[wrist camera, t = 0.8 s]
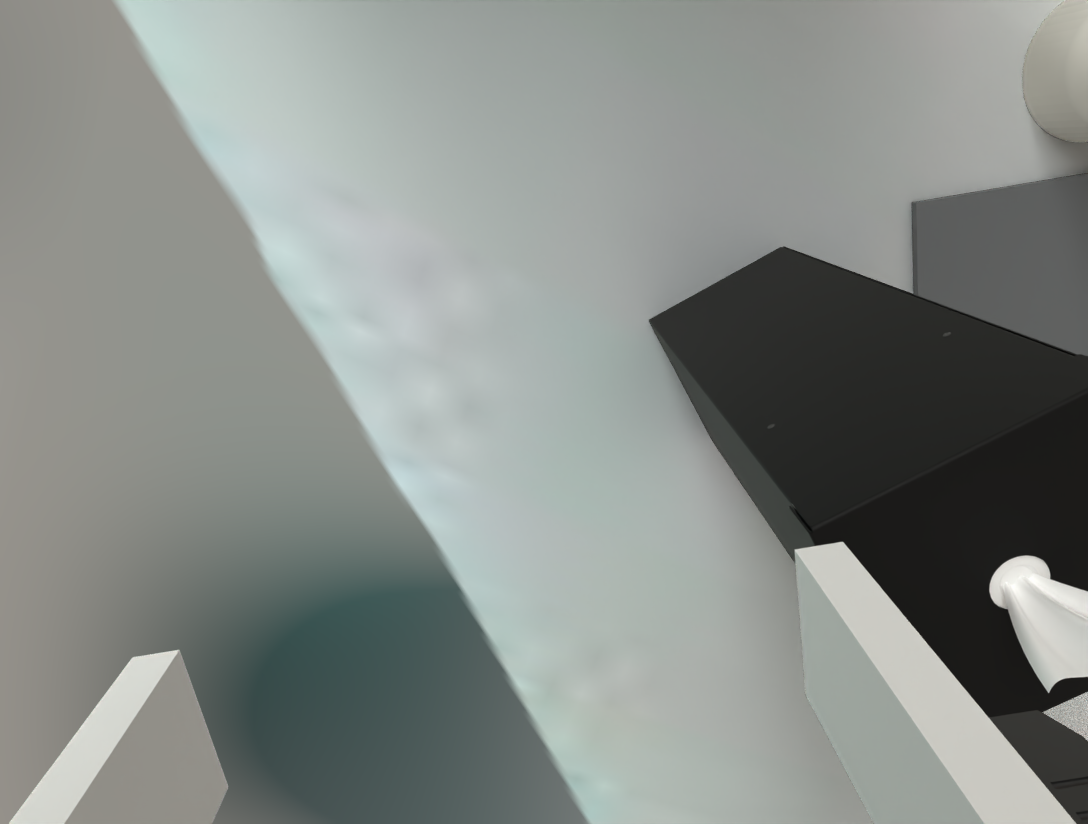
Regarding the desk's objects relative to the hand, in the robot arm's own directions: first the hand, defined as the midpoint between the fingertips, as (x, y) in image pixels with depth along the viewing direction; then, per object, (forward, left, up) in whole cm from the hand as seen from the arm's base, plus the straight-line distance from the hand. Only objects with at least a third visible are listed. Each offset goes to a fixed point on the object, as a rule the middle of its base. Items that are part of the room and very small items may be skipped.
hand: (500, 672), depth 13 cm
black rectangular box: (+4, +12, -31) cm, 33 cm away
